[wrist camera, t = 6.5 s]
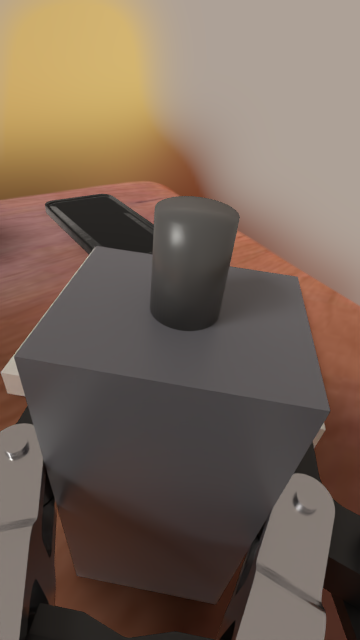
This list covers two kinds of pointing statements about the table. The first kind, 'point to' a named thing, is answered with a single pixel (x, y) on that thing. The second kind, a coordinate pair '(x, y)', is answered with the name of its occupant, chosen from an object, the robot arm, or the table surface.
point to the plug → (172, 403)
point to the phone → (102, 223)
